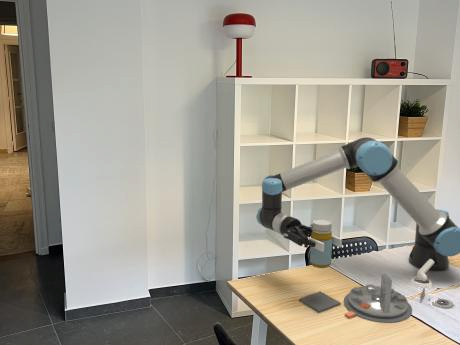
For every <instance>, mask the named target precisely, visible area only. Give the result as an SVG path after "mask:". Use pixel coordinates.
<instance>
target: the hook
mask: <svg viewBox="0 0 460 345" xmlns="http://www.w3.org/2000/svg"><path fill="white" fill-rule="evenodd" d="M433 264H434V261H433V260H432V259H429V260H428V261H427V262H426V263H425V264H424V265H423V267H422V268H419V270H418V271H417V272H416V276H414V277H412V278H411V280H410V282H411V283H412V284H413V285H414V287H415V286H417V287H416V288H418V287H421V288H420V289H422V288H428V289H430V288H429V287H431V288H432V287H433V286H432V285H433V283H432V280H431V279H429V278H428V276H427V274H426V273H427V272H428V271H430V270H429V269H430V267H431V266H432V265H433ZM418 281H422V282H426V281H428V282H429V283H428V282H426V283H422V282H418ZM411 283H410V284H411ZM412 284H411V285H412ZM413 285H412V286H413Z"/></svg>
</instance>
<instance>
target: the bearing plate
mask: <svg viewBox="0 0 460 345" xmlns="http://www.w3.org/2000/svg"><path fill="white" fill-rule="evenodd" d="M348 297H349V293H347V294H346V295H345V296H344V299H343V305H344V306H345V308H346V309H347V311H348V312H350V311H352V312H354V313H356V317H358V318H361V319H364V320H367V321H370V322H375V323H384V324H392V323H400V322H403V321H406V320H409V318H410V317H411V316H412V315H413V314H412V313H413V308H412V305H411V304H410V303H409V302H408V308H407V312H406V313H405V314H404V315H403V316H400V317H397V318H390V319H383V318H375V317H370V316H367V315H364V314H362V313H359V312H358V311H356V310H354V309H353V308H352V307H351V306H350V304H349V302H348Z"/></svg>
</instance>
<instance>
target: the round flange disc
mask: <svg viewBox="0 0 460 345" xmlns="http://www.w3.org/2000/svg"><path fill="white" fill-rule="evenodd" d="M392 284H393V280H392V279H391V277H390V276H389V275H388V274H381V280H380V286H377V285H374V284H366V285H361V286H357V287H356V286H354V287H352V289H351V290H350V291H349V292H348V294H349V297H348V302H349V304H350V306H351V307H352V308H353V309H354V310H356V311H358V312H359V313H362V314H364V315H367V316H370V317H375V318H383V319H390V318H397V317H400V316H403V315H404V314H405V313H406V312H407V308H408V303H409V302H408V299H407V297H406V296H405V295H404V294H402V293H400V292H398V291H396V290H395V288H393V287H392V286H393V285H392Z"/></svg>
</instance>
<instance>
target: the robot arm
mask: <svg viewBox="0 0 460 345" xmlns="http://www.w3.org/2000/svg"><path fill="white" fill-rule="evenodd" d="M357 167H359V168H360V170H361V171H362V172H363V173H364V174H365V175H366V176H367V177H368V178H369V179H370V180H371V181H372V182H373V183H379V184H380V185H381V186H382V187H383V189H385V191H386V192H387V193H388V194H389V195H390V196H391V197H392V198H393V199H394V201H395V202H396V203H397V204H398V205H399V206H400V207H401V208H402V209H403V210H404V211H405V212H406V213H407V215H408V216H409V217H410V218H411V219H412V220H413V221H414V223H415V224H416V226H415V234H414V235H415V237H414V238H415V239H414V245H413V247H412V248H411V251H410V253H409V255H408V256H409V257H408V262H409V264H410V263H411V265H412V266H413V265H414V267H415V266H416V267H415V268H419V269H421V268H422V267H423V265H424V264H425V263H426V262H427V261H428V260H429V259H432V260H433V261H434V264H433V265H432V266H431V267H430V269H429V270H428V271H431V270H432V271H433V272H438V271H439V272H440V271H445V270H448V269H449V265H450V261H449V257H454V256H458V255H459V254H460V227H458V226H457V224H455V222H453V220H452V219H451V218H450V213H449V211H447V210H443V209H436V208H435V207H434V206H433V205H432V203H431V202H430V201H429V200H428V199H427V198H426V197H425V196H424V194H422V192H421V191H420V190H419V189H418V188H417V187H416V185H415V184H414V183H413V182H412V181H411V180H410V179H409V178H408V177H407V176H406V174H404V172H403V171H402V170H401V169H400V168H399V160H398V159H397V158H396V157H395V156H394V155H393V154H392V151H391V150H390V148H389V147H388V146H387V145H386V144H385V143H384V142H381V141H378V140H377V139H374V138H372V137H361V138H358V139H356V140H353V141H351V142H348V143H347V144H344V145H342V146H341V145H340V146H339V148H338V150H336V151H333V152H330V153H328V154H325V155H323V156H320V157H318V158H316V159H313V160H311V161H310V160H309V161H307V162H305V163H303V164H300V165H297V166H295V167H292V168H290V169H287V170H285V171H282V172H280V173H278V174H277V173H276V174H274V175H272V174H271V175H270V174H269V175H267V176H266V177H264V179H263V180H262V182H261V208H259V209H258V211H257V213H256V216H255V218H256V221H257V223H258V224H259V225H260V226H263V227H264V228H266V229H268V230H271V231H273V232H275V233H278V234H280V235H281V236H283V238H284V239H286V240H289V241H290V242H293V243H294V244H295V245H298V246H300V247H302V246H303V245H304V248H306V249H307V248H309V247H310V246H311V247H313V248H315V249H317V250H319V251H322V252H324V244H325V243H322V242H320V241H318V240H315V239H313V238H311V233H312V231H313V230H312V229H313V223H312V224H310V226H308V225H305V224H302V222H301V221H300V219H298V218H295V217H293V216H290V215H289V214H287V213H283V212H282V208H283V206H282V203H283V202H282V197H283V193H284V192H286V191H288V190H291V189H294V188H297V187H299V186H302V185H304V184H306V183H309V182H312V181H314V180H318V179H319V178H322V177H325V176H328V175H330V174H333V173H335V172H338V171H340V170H344V169H347V170H351V169H353V168H357ZM331 234H332V230H331ZM342 240H343V238H340V237H337V236H335V235H333V234H332V246H333V245H334V246H336V247H338V248H342Z"/></svg>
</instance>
